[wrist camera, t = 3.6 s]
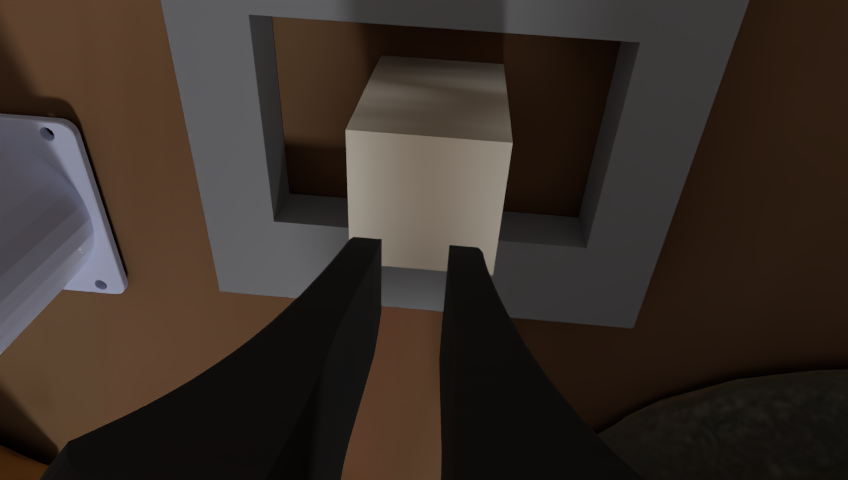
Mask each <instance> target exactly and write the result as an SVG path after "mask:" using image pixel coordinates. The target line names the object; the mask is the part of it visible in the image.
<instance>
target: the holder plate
mask: <svg viewBox="0 0 848 480" xmlns="http://www.w3.org/2000/svg"><path fill="white" fill-rule="evenodd" d="M749 1H750V0H161V5H162V10H163V14H164V19H165V24H166V29H167V34H168V39H169V44H170V49H171V54H172V59H173V63H174V68H175V73H176V78H177V83H178V88H179V93H180V98H181V103H182V107H183V112H184V117H185V122H186V127H187V132H188V137H189V142H190V147H191V152H192V156H193V161H194V166H195V171H196V176H197V181H198V186H199V191H200V196H201V200H202V205H203V210H204V215H205V220H206V225H207V230H208V235H209V240H210V245H211V249H212V254H213V259H214V264H215V269H216V274H217V279H218V284H219V289H220V291H223V292H234V293H245V294H256V295H267V296H278V297H289V298H298V297H299V296H300V295H301V294H302V293H303V292H304V290H305V289H306V288H307V287H308V286H309V285H310V284H311V283H312V282H313V281H314V280H315V279H316V278H317V277H318V276H319V275H320V274H321V273H322V271H323V270H324V269H325V268H326V267H327V266H328V265H329V263H330V262H331V261H332V260H333V259H334V258H335V256H336V255H337V254H338V253H339V252H340V250H341V249H342V248H343V247H344V245H345V244H346V243H347V242H348V241H349V222H348V198H338V197H326V196H314V195H302V194H290V193H289V185H288V175H287V165H286V155H285V145H284V135H283V125H282V115H281V105H280V95H279V85H278V75H277V65H276V55H275V45H274V35H273V25H272V16H275V17H289V18H303V19H317V20H331V21H345V22H359V23H374V24H388V25H402V26H416V27H430V28H444V29H458V30H472V31H486V32H500V33H514V34H528V35H542V36H556V37H570V38H584V39H598V40H612V41H621V43H620V47H619V51H618V55H617V59H616V63H615V68H614V72H613V76H612V80H611V84H610V88H609V92H608V97H607V101H606V105H605V109H604V113H603V117H602V121H601V126H600V130H599V134H598V138H597V142H596V146H595V150H594V154H593V159H592V163H591V167H590V171H589V175H588V179H587V183H586V188H585V192H584V196H583V200H582V204H581V208H580V212H579V216H578V217H567V216H555V215H543V214H531V213H519V212H507V211H503V212H502V218H501V225H500V232H499V238H498V245H497V252H496V258H495V265H494V271H493V275H490V277H491V279H492V281H493V284H494V286H495V289H496V291H497V293H498V295H499V297H500V299H501V301H502V303H503V305H504V307H505V309H506V311H507V313H508V315H509V317H511V318H522V319H533V320H544V321H555V322H566V323H577V324H588V325H599V326H610V327H621V328H632V329H633V328H634V325H635V322H636V319H637V316H638V314H639V311H640V308H641V305H642V302H643V300H644V297H645V294H646V291H647V288H648V285H649V283H650V280H651V277H652V274H653V271H654V269H655V266H656V263H657V260H658V257H659V254H660V252H661V249H662V246H663V243H664V240H665V237H666V235H667V232H668V229H669V226H670V223H671V221H672V218H673V215H674V212H675V209H676V206H677V204H678V201H679V198H680V195H681V192H682V190H683V187H684V184H685V181H686V178H687V175H688V173H689V170H690V167H691V164H692V161H693V159H694V156H695V153H696V150H697V147H698V144H699V142H700V139H701V136H702V133H703V130H704V127H705V125H706V122H707V119H708V116H709V113H710V111H711V108H712V105H713V102H714V99H715V96H716V94H717V91H718V88H719V85H720V82H721V80H722V77H723V74H724V71H725V68H726V65H727V63H728V60H729V57H730V54H731V51H732V49H733V46H734V43H735V40H736V37H737V34H738V32H739V29H740V26H741V23H742V20H743V17H744V15H745V12H746V9H747V6H748V3H749ZM446 276H447V271H436V270H425V269H413V268H402V267H391V266H382V277H381V306H389V307H400V308H411V309H422V310H433V311H443V309H444V298H445V287H446Z"/></svg>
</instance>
